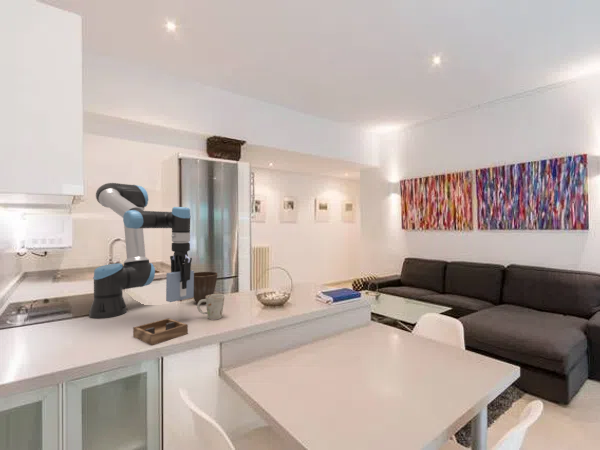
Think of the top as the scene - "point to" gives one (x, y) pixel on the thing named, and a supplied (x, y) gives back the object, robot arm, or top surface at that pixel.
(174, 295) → the door
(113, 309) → the robot arm
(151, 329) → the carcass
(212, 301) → the mug
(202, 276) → the plant pot
